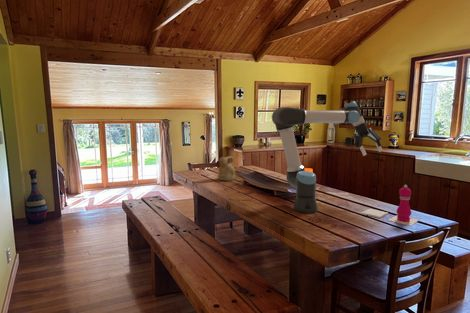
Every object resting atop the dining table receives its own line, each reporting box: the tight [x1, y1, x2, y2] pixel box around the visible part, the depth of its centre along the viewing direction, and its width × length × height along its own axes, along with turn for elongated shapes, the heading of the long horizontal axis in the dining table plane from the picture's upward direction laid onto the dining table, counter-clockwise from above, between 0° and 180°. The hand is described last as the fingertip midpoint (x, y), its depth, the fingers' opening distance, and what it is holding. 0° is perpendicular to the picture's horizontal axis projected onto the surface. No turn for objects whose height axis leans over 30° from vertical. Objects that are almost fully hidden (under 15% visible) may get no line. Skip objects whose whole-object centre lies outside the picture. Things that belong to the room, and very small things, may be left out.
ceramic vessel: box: [217, 151, 236, 182], centre depth 291 cm, size 17×20×25 cm
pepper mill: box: [396, 184, 412, 222], centre depth 176 cm, size 7×7×20 cm
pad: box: [360, 208, 389, 219], centre depth 189 cm, size 11×11×1 cm
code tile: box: [387, 214, 420, 227], centre depth 178 cm, size 12×12×1 cm
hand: (372, 153), depth 211 cm, fingers open, 13 cm apart
